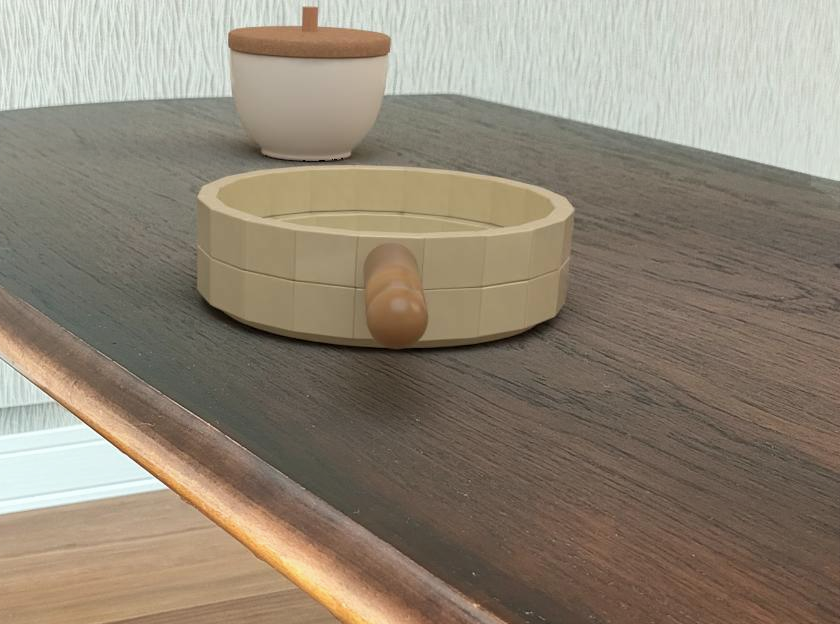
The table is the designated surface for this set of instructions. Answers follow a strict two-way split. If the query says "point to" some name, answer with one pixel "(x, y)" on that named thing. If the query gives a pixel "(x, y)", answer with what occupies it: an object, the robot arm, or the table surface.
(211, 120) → the table surface
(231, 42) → the trinket box
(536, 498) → the table surface
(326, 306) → the pan
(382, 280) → the pan handle
